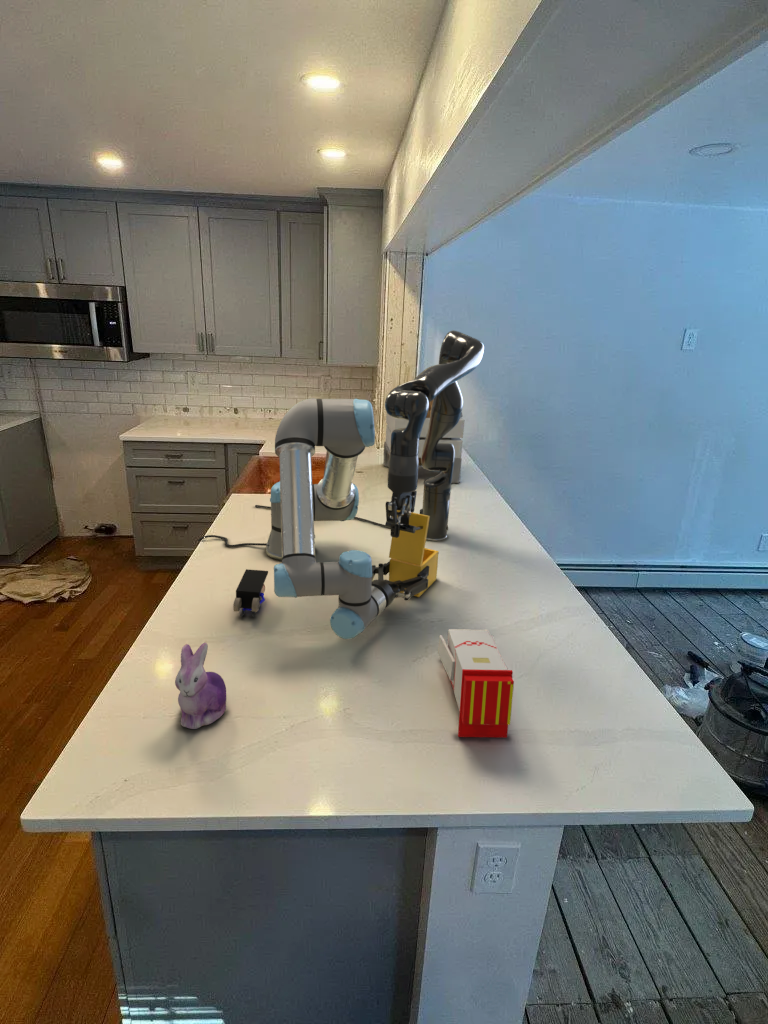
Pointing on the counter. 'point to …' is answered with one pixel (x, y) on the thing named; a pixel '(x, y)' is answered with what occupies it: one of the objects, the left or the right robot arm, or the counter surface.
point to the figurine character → (250, 591)
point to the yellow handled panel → (410, 539)
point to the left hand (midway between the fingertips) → (411, 566)
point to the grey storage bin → (450, 438)
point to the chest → (414, 568)
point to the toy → (478, 682)
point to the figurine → (199, 690)
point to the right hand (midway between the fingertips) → (399, 533)
